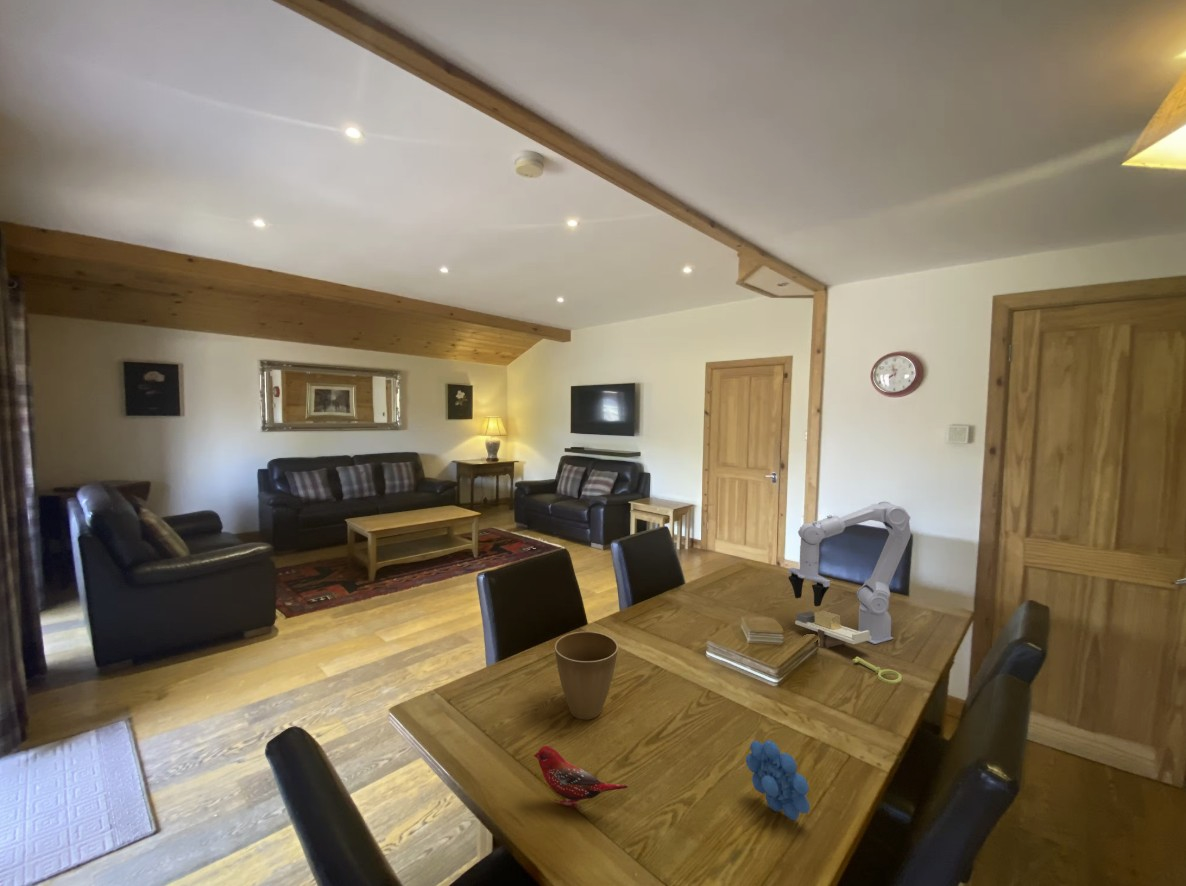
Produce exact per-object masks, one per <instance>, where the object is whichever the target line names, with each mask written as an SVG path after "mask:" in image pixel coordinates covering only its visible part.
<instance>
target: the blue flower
mask: <svg viewBox="0 0 1186 886" xmlns="http://www.w3.org/2000/svg"><path fill="white" fill-rule="evenodd" d="M749 746H750V747H749V749H750V752H751V753H748V754H747V755H746V757H745V761H746V762H745V763H746V767H747V768H748V769H749V771H751V773H753V774H752V775H751V782H752V786H753V787H754V789H755V790H756V791H757V792H759V793H761V794H765V800H766V804H767V805H768V807H769V809H771V810H773V811H774V812H776V813H778V812H781V811H782V812H783V814H784V815H785V817H786V818H788V819H790V820H792V821H796V820H798V818H799V817H800V813H801V814H804V815H805V814H808V813H809V811H810V802H809V800H808V797H807V796H806V795H808V794H809V791H810V788H809V783H808V782H807V779H806V778H805V777H804V776H803V775H802V774H800V773H797V768H798V767H797V763H796V760H795V758H794V757H793V756H792V755H791V754H789V753H788V752H787V753H786V752H782V753H781V752H780V748H779V745H778V744H777V743H775V742H774V741H772V740H765V741H764V742H763V743H762V742H761V741H758V740H753V741H751V743H750V745H749Z"/></svg>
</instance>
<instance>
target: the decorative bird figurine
mask: <svg viewBox="0 0 1186 886" xmlns="http://www.w3.org/2000/svg"><path fill="white" fill-rule="evenodd" d="M533 757H535V758H536V759H537V760H538V765H539V767H540V769H541V772H542V775H543V778H544V780H545V781H546V783H547V785H548V787H550V788H551V790H552V791H554V792H555V793H556V794H557V795H559V796H560V797H562V798H564V800H563V799H562V800H559V799H556V798H555V799H554V801H556V802H558V803H560V804H561V805H563V806H566V807H567V806H570V807H574V808H577V807H578V808H581V809H582V806H581V805H580V804H579V803H577V802H579V801H583V800H589V799H595V797H597V796H599V795H600V794H602V793H604V792H607V791H615V790H623V789H627V788H629V786H628V785H625V784H619V783H618V784H617V783H607V782H601V781H600V780H598V778H596V777H595V776H593V775H592V774H590V773H589V772H587V771H586V770H584V769H582V768H581V767H578V766H576V765H574V764H572V763H571V762H569V761H567V760H565V759H564V758H563V757H562V755H561V754H560V753H559V752H558V751H557V750H556V749H554V748H553V747H550V746H548V745H543V746H542V747H541V748H540V749H539V750H538V752H536V753H534V755H533ZM566 799H567V800H566Z"/></svg>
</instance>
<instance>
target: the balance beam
mask: <svg viewBox="0 0 1186 886" xmlns="http://www.w3.org/2000/svg"><path fill="white" fill-rule="evenodd" d="M814 613H815V612H814V611H807V612H801V613H797V614H796V620H795V622H794V623H795V625H797V626H800V627H803V628H806V629H808V630H812V631H814V632H817V633H818V629H821V630H823V631H824V634H825V635H828V636H831V637H834V638H837V639H839V640H842V641H845V642H844V643H849V644H851V645H857V644H861V643H864V642H868V640H871V636H870V632H869V631H868V630H866V631H862V632H860V631H858V630H857V629H853V628H850V627H848V626H845V627H844V626H841V629H837V630H831V629H828V628H825V627H822V626H819V625H816V624H815V614H814Z"/></svg>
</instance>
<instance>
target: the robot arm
mask: <svg viewBox="0 0 1186 886" xmlns="http://www.w3.org/2000/svg"><path fill="white" fill-rule="evenodd" d="M910 520H911V516H910V515H909V514H908V512H907V510H906V509H905V508H904V507H902V506H899V505H896V504H894V503H891V502H889V501H880V502H878V503H873V504H870V505H869V506H867V507H863V508H861V509H858V510H856V511H853V512H851V513H848V514H846V515H843V516H841V517H839V516H838V515H831V514H829V515H826V517H825V518H823V519H820V520H813V521H812V523H809V522H807V523H804V524H802V525H801V526H800V528H799V530H798V531H797V533H798V536H799V538H800V546H799V568H795V567H789V568H788V575H789V576H788V581H789V582H790V584H791V586H792V590H793V594H794V598H795V599H801V598H802V593H803V585H804V581H805V580H806V581H810V582H813V583H815V584H811V588H812V591H813V592H812V593H813V604H814V606H815V607H820V606H821V604H822V601H823V598H824V597H825V595H826V593H827V591H828V590H829V589H830V585H831V580H830V579H827V578H826V577H823V576H822V575H820V574H819V566H820V565H819V563H820V561H819V560H820V543H821V542H822V541H823V540H824V539H827V538H830V537H833V536H835V535H839V534H841V533H843V532H844V531H845V529H846V527H850V526H854V525H857V524H861V523H865V522H868V521H875V522H879V523H882V524H883V525H884V527H885V528H886V530H887V532H888V537H887V539H886V541H885V544H884V546H883V548H882V550H881V553H880V556H879V558H878V560H877V562H876V564H875V566H874V569H873V571H872V573H871V576H870V578H868V579H866V580H865V581H864V583H863V585H862V586H860V587H859V588H858V589H857V592H856V598H857V600H858V601H859V602H860V603H859V607H858V625H857V627H858V629H857V631H860V632H862V631H866V630H868V631H869V632H870V636H871V640H868V641H867V642H868V643H871V644H873V645H878V644H881V643H884V642H888V641H891V640H893V639H894V637H893V636H891V635H892V634H891V632H892V631H891V630H892V617H891V615H890V612H889V611H888V610H889V607H890V602H889V600H890V597H891V591H890V587H889V586H890V584H891V582H892V579H893V577H894V575H895V573H896V570H897V569H898V566H899V564H900V561H901V560H902V557H903V555H904V553H905V551H906V547H907V546H908V543H909V540H910V538H911V535H912V534H911V527H910Z"/></svg>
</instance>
